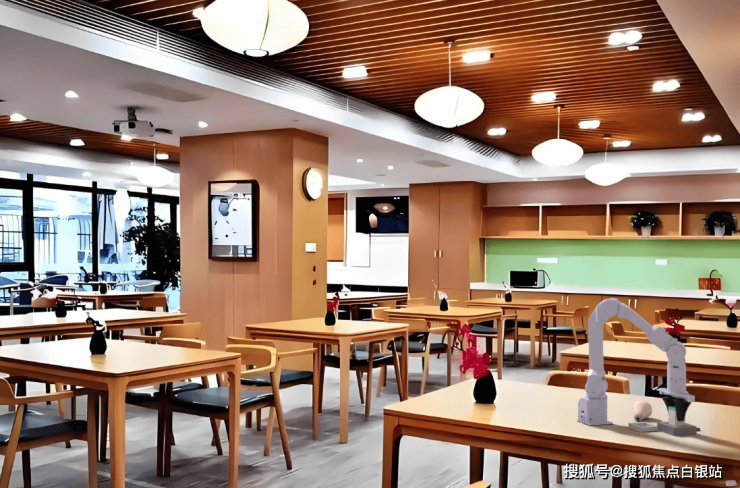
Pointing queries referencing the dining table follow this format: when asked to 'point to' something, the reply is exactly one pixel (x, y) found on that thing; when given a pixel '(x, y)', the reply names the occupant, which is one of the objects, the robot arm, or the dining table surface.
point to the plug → (674, 417)
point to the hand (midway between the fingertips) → (676, 419)
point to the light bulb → (642, 410)
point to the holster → (643, 426)
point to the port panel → (677, 429)
